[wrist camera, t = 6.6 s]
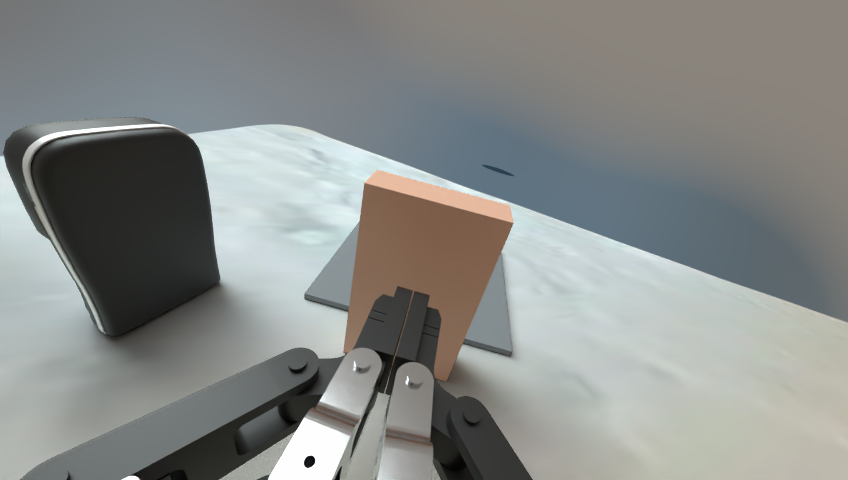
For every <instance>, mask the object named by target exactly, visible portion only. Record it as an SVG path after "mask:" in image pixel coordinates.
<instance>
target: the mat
mask: <svg viewBox="0 0 848 480" xmlns="http://www.w3.org/2000/svg"><path fill="white" fill-rule="evenodd" d="M359 223H360V221H359ZM359 223H358V224H357V225H356V227H355V228H354V229H353V231H352V232H351V233H350V235H349V236H348V237H347V239H346V240H345V241H344V243H343V244H342V245H341V246H340V248H339V249H338V250H337V252H336V253H335V254H334V256H333V257H332V258H331V260H330V261H329V262H328V264H327V265H326V266H325V267H324V269H323V270H322V271H321V273H320V274H319V275H318V277H317V278H316V279H315V281H314V282H313V283H312V285H311V286H310V287H309V288H308V290H307V291H306V292H305V297H304V299H308V300H312V301H315V302H319V303H322V304H326V305H329V306H333V307H337V308H340V309H344V310H347V311H349V304H350V296H351V288H352V280H353V272H354V264H355V255H356V247H357V239H358V231H359ZM463 343H465V344H469V345H472V346H476V347H479V348H483V349H486V350H490V351H494V352H497V353H501V354H504V355H508V356H510V354H511V353H512V347H511V338H510V329H509V320H508V311H507V303H506V294H505V285H504V276H503V267H502V258H501V254H500V256H499V259H498V261H497V263H496V266H495V268H494V270H493V273H492V275H491V277H490V280H489V282H488V285H487V287H486V289H485V292H484V294H483V296H482V299H481V301H480V304H479V306H478V308H477V311H476V313H475V315H474V318H473V320H472V322H471V325H470V327H469V330H468V332H467V334H466V337H465V339H464V341H463Z"/></svg>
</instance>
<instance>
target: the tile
mask: <svg viewBox="0 0 848 480" xmlns="http://www.w3.org/2000/svg"><path fill="white" fill-rule="evenodd" d="M512 225H513V218H512V214H511V209H510V205H506V204H502V203H498V202H495V201H491V200H487V199H483V198H480V197H476V196H472V195H468V194H465V193H461V192H457V191H454V190H450V189H446V188H442V187H439V186H435V185H431V184H427V183H424V182H420V181H416V180H413V179H409V178H405V177H401V176H398V175H394V174H390V173H386V172H383V171H379V170H377V171H376V172H375V173H374V174H373V175H372V176H371V177H370V178H369V179H368V180H367V181H366V182H365V183H364V191H363V199H362V207H361V215H360V223H359V231H358V239H357V247H356V255H355V264H354V272H353V280H352V288H351V296H350V304H349V312H348V320H347V328H346V336H345V344H344V353H349V352H350V351H351V350H352V349H353V348H354V346H355V344H356V342H357V340H358V337H359V335H360V333H361V331H362V328H363V326H364V324H365V322H366V320H367V318H368V315H369V313H370V311H371V308H372V306H373V304H374V302H375V300H376V299H378V298H379V297H380V296H381V295H383V294H385V295H388V296H392V297H394V294H395V292H396V289H397V287H398V286H399V287H403V288H406V289H410V290H413V293H412V297H411V301H412V298H413V294H414V291H417V292H421V293H424V294H428V295H430V297H429V302H428V306H427V307H431V308H434V309H438V310H439V313H440V316H441V319H442V320H441V327H440V333H439V338H438V346H437V352H436V359H435V365H434V375H435V378H436V379H439V380H443V381H446V382H447V379H448V377H449V375H450V372H451V370H452V367H453V365H454V363H455V360H456V358H457V356H458V353H459V351H460V349H461V346H462V344H463V341H464V339H465V337H466V334H467V332H468V330H469V327H470V325H471V322H472V320H473V318H474V315H475V313H476V311H477V308H478V306H479V304H480V301H481V299H482V296H483V294H484V292H485V289H486V287H487V285H488V282H489V280H490V277H491V275H492V273H493V270H494V268H495V266H496V263H497V261H498V259H499V256H500V254H501V251H502V249H503V247H504V244H505V242H506V240H507V237H508V235H509V232H510V230H511V228H512ZM411 301H410V304H411ZM410 304H409V308H410ZM409 308H408V311H409ZM407 315H408V312H407ZM406 318H407V316H406ZM405 321H406V319H405ZM404 325H405V323H404ZM403 328H404V326H403ZM402 332H403V330H402ZM401 335H402V333H401ZM400 338H401V336H400ZM399 342H400V340H399ZM398 345H399V343H398ZM397 348H398V347H397ZM396 352H397V350H396ZM395 355H396V353H395ZM394 359H395V357H394ZM393 363H394V360H393ZM393 363H392V366H393Z"/></svg>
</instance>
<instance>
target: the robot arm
mask: <svg viewBox="0 0 848 480" xmlns="http://www.w3.org/2000/svg"><path fill="white" fill-rule="evenodd" d="M412 293H413V290H410V289H406V288H403V287H399V286H398V287H397V289H396V292H395V294H394V297H392V296H388V295H385V294H383V295H381V296H380V297H379V298H378V299H376V300H375V302H374V304H373V306H372V308H371V311H370V313H369V315H368V318H367V320H366V322H365V324H364V326H363V328H362V331H361V333H360V335H359V337H358V340H357V342H356V344H355V346H354V348H353V349H352V350H351V351H350V352H349V353H347V354H346V355H344V356H342V357H339V358H332V359H318V357H317V355H316V354H315V353H314V352H313V351H312V350H310V349H307V348H295V349H291V350H289V351H286V352H284V353H282V354H280V355H278V356H275V357H273V358H271V359H269V360H267V361H264V362H262V363H260V364H258V365H256V366H253V367H251V368H249V369H247V370H245V371H242V372H240V373H238V374H236V375H234V376H231V377H229V378H227V379H225V380H222V381H220V382H218V383H216V384H214V385H211V386H209V387H207V388H205V389H203V390H200V391H198V392H196V393H194V394H192V395H189V396H187V397H185V398H183V399H181V400H178V401H176V402H174V403H172V404H170V405H167V406H165V407H163V408H161V409H159V410H156V411H154V412H152V413H150V414H148V415H145V416H143V417H141V418H139V419H136V420H134V421H132V422H130V423H128V424H125V425H123V426H121V427H119V428H117V429H114V430H112V431H110V432H108V433H106V434H103V435H101V436H99V437H97V438H95V439H92V440H90V441H88V442H86V443H84V444H81V445H79V446H77V447H75V448H73V449H70V450H68V451H66V452H64V453H62V454H59V455H57V456H55V457H53V458H51V459H49V460H47V461H45V462H43V463H41V464H40V465H38V466H36V467H35V468H34V469H32V470H31V471H29V472H28V473H27V474H26V475H25V476H23V477H22V478H21V479H20V480H219V479H220V478H222V477H224V476H225V475H227V474H228V473H230V472H231V471H233V470H235V469H236V468H238V467H239V466H241V465H242V464H244V463H246V462H247V461H249V460H250V459H252V458H254V457H255V456H257V455H258V454H260V453H261V452H263V451H265V450H266V449H268V448H269V447H271V446H272V445H274V444H276V443H277V442H279V441H280V440H282V439H284V438H285V437H287V436H288V435H290V434H291V433H293V432H295V431H296V430H297V431H296V433H295V434H294V436H293V438H292V440H291V441H290V443H289V445H288V446H287V448H286V450H285V451H284V453H283V455H282V457H281V458H280V460H279V462H278V463H277V465H276V467H275V469H274V470H273V472H272V474H271V475H267V476H264V477H262V478H260V479H257V480H345V478H346V475H347V472H348V469H349V466H350V463H351V461H352V458H353V456H354V453H355V451H356V448H357V446H358V443H359V441H360V438H361V436H362V433H363V431H364V428H365V426H366V423H367V421H368V418H369V416H370V413H371V410H372V409H373V407H374V404H375V401H376V398H377V395H378V392H380V393H383V394H384V390H385V387H386V384H387V380H388V377H389V374H390V370H391V367H392V363H393V360H394V363H393V367H392V370H391V374H390V378H389V382H388V385H387V389H386V393H385V394H387V395H390V397H389V401H388V404H387V408H386V412H385V415H384V420H383V425H382V430H381V435H380V440H379V445H378V450H377V455H376V460H375V465H374V470H373V475H372V479H371V480H432V466H433V464H434V466H435V468H436V470H437V472H438V474H439V477H440V479H441V480H533V479H532V478H531V476H530V475H529V473H528V472H527V470H526V469H525V467H524V466H523V464H522V463H521V461H520V460H519V458H518V457H517V455H516V453H515V452H514V450H513V449H512V447H511V446H510V444H509V443H508V441H507V440H506V438H505V437H504V435H503V434H502V432H501V430H500V429H499V427H498V426H497V424H496V423H495V421H494V420H493V418H492V417H491V415H490V414H489V412H488V411H487V409H486V408H485V406H484V405H483V404H482V403H481V402H480V401H478V400H477V399H475V398H472V397H469V396H463V397H459V398H455V397H454V396H452V395H451V394H449V393H448V392H446V391H445V390H444V389H442V388H441V386H440V385H439V384H438V382H437V381H436V378H435V375H434V365H435V359H436V352H437V346H438V338H439V333H440V327H441V320H442V319H441V316H440V313H439V310H438V309H434V308H431V307H427V306H428V302H429V297H430V295H428V294H424V293H421V292H417V291H414V294H413V298H412V301H411V297H412ZM410 301H411V304H410ZM409 304H410V308H409ZM408 308H409V311H408ZM407 312H408V315H407ZM406 316H407V318H406ZM405 319H406V321H405ZM404 323H405V325H404ZM403 326H404V328H403ZM402 330H403V332H402ZM401 333H402V335H401ZM400 336H401V338H400ZM399 340H400V342H399ZM398 343H399V345H398ZM397 347H398V348H397ZM396 350H397V352H396ZM395 353H396V355H395ZM394 357H395V359H394Z"/></svg>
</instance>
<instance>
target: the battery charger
mask: <svg viewBox="0 0 848 480" xmlns="http://www.w3.org/2000/svg"><path fill="white" fill-rule="evenodd" d="M3 154H4V158H5V162H6V166H7V169H8V171H9V174H10V176H11V178H12V181H13V183H14V185H15V187H16V189H17V192H18V194H19V196H20V198H21V200H22V202H23V204H24V206H25V209H26V211H27V212H28V214H29V216H30V218H31V220H32V222H33V224H34V226H35V227H36V229H37V231H38V232H39V233H40V234H42V235H43V236H45V237H46V238H48V239H49V240H50V241H51V243H52V245H53V246H54V248H55V250H56V252H57V253H58V255H59V257H60V258H61V260H62V262H63V263H64V265H65V267H66V269H67V270H68V272H69V273H70V275H71V276H72V278H73V280H74V281H75V283H76V285H77V287H78V289H79V291H80V293H81V295H82V297H83V300H84V302H85V306H86V308H87V310H88V312H89V314H90V317H91V319H92V320H93V322H94V324H95V325H97V326H98V328H99V329H100V331H102V332H103V333H104V334H109V335H111V336H118V335H121V334H123V333H125V332H127V331H129V330H131V329H133V328H135V327H137V326H139V325H141V324H143V323H145V322H147V321H149V320H151V319H153V318H155V317H156V316H158V315H160V314H162V313H164V312H166V311H168V310H170V309H172V308H173V307H175V306H177V305H179V304H181V303H183V302H184V301H186V300H188V299H190V298H191V297H193V296H195V295H197V294H199V293H200V292H202V291H204V290H205V289H207V288H209V287H211V286H212V285H214V284H216V283H217V282H219V281H220V274H219V269H218V264H217V258H216V252H215V245H214V233H213V223H212V214H211V205H210V198H209V191H208V186H207V180H206V175H205V170H204V165H203V160H202V156H201V153H200V150H199V148H198V146H197V145H196V143H195V142H194V140H192V139H191V138H190V137H189V136H188V135H187V134H186V133H185V132H183V131H181V130H179V129H176V128H174V127H172V126H169V125H163V124H161V123H158V122H156V121H153V120H150V119H146V118H137V117H125V118H99V119H83V120H72V121H59V122H47V123H40V124H35V125H29V126H25V127H23V128H21V129H19V130H17V131H15V132H13V133H12V135H11V136H10V137H9V138H8V139H7V140H6V143H5V147H4V152H3Z"/></svg>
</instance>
